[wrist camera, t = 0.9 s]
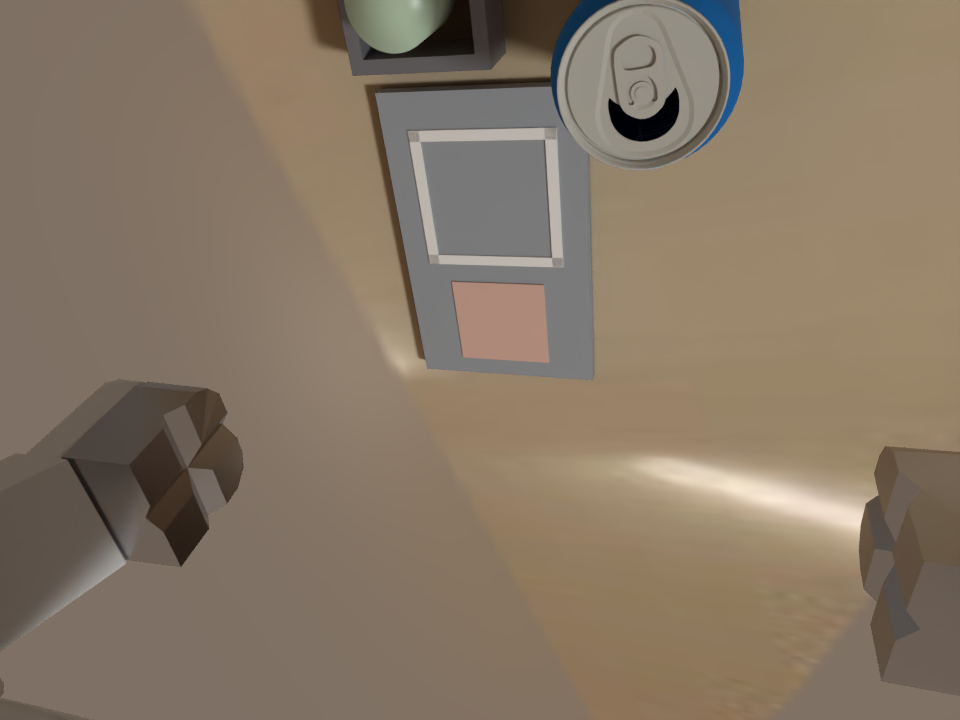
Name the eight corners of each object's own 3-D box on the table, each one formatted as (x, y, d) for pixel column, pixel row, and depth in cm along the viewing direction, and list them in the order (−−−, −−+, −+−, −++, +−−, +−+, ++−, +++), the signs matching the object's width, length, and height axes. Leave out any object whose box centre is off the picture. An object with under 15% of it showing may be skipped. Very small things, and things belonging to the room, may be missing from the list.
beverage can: (602, 92, 36) (560, 192, 27) (582, -54, 33) (526, 3, 23) (740, 69, 34) (747, 170, 25) (735, -90, 31) (741, -42, 21)
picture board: (380, 88, 39) (374, 93, 38) (587, 80, 36) (584, 85, 35) (430, 361, 49) (426, 369, 49) (594, 372, 46) (592, 381, 46)
